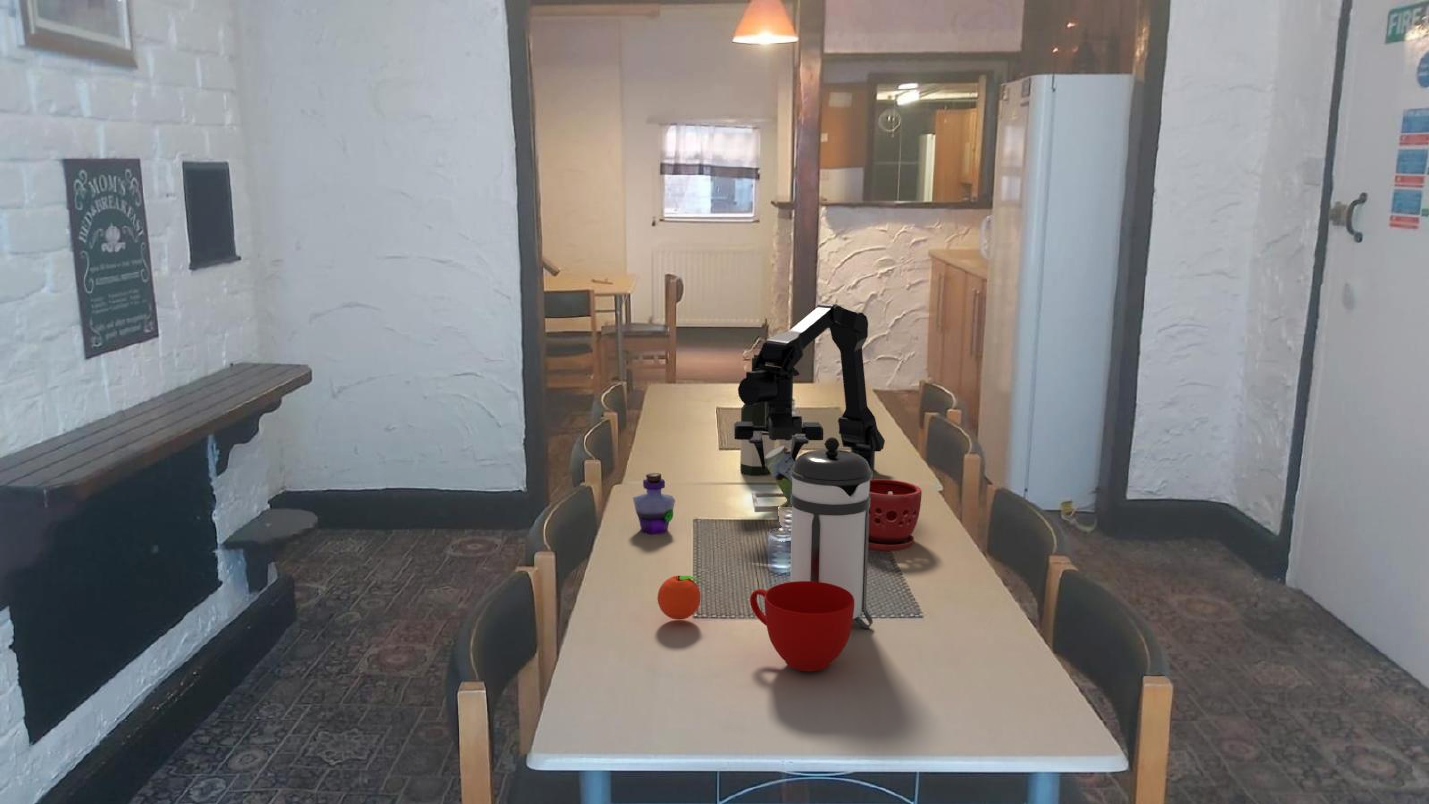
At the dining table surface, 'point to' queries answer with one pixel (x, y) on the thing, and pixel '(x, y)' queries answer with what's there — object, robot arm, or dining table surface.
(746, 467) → the wine bottle
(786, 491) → the beverage can
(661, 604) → the clementine
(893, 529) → the plant pot
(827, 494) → the coffee press
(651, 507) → the potion bottle
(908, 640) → the dining table surface
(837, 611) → the ceramic cup
